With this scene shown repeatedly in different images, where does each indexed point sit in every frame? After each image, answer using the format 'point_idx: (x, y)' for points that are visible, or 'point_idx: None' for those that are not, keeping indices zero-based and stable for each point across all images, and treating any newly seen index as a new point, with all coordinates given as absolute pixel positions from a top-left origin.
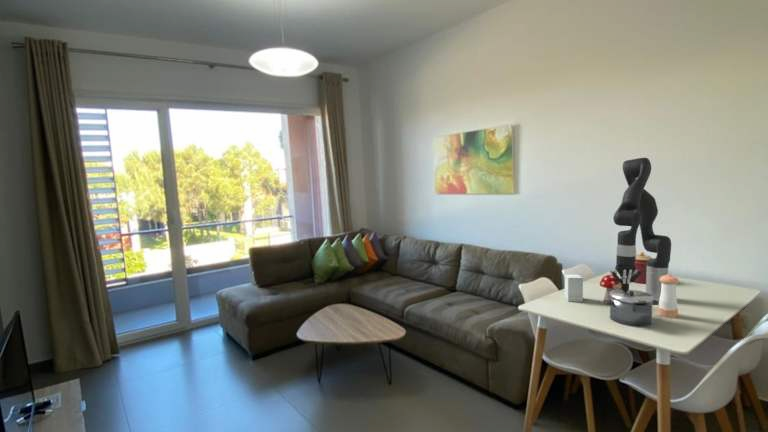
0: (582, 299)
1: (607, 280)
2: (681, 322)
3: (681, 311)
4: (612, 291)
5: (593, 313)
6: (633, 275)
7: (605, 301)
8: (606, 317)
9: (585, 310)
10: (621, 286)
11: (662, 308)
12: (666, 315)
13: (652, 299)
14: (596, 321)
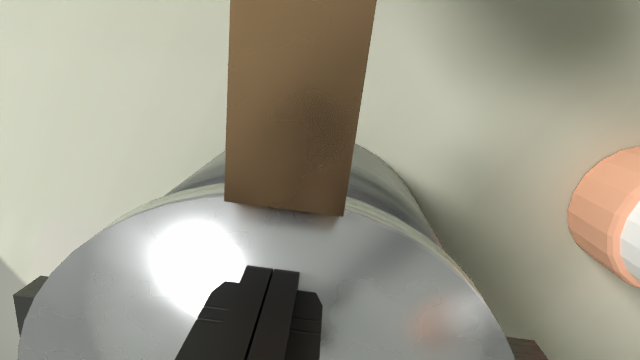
0: None
1: None
2: (587, 333)
3: None
4: (81, 281)
5: (99, 93)
6: None
7: (20, 325)
8: (162, 189)
9: (57, 7)
10: (196, 333)
11: (618, 246)
12: (588, 252)
13: None
14: (67, 249)
